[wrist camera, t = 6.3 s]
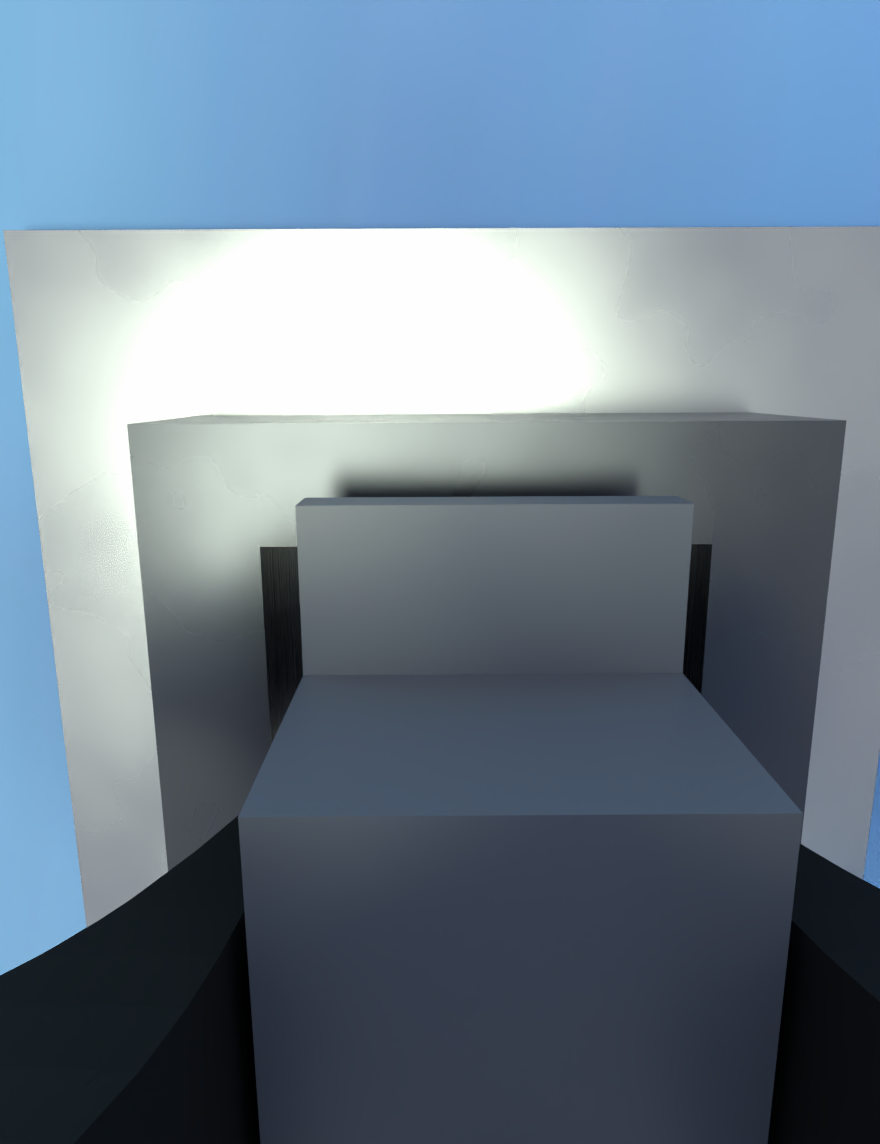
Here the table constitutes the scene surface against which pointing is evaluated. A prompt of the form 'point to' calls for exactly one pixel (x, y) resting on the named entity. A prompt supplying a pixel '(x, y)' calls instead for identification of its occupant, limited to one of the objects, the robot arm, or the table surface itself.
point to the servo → (510, 841)
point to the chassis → (438, 475)
